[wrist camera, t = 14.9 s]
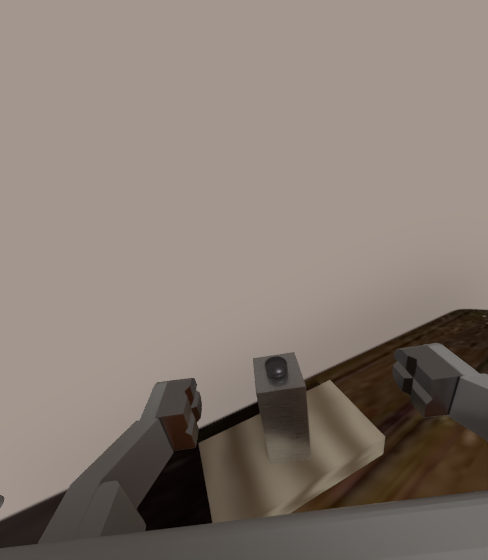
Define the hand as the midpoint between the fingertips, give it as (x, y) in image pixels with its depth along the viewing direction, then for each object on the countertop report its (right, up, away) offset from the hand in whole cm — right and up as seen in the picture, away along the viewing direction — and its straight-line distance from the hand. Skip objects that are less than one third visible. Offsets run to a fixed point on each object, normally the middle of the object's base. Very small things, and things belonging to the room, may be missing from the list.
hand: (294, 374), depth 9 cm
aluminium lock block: (+4, -17, +20) cm, 27 cm away
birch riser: (+4, -20, +22) cm, 30 cm away
